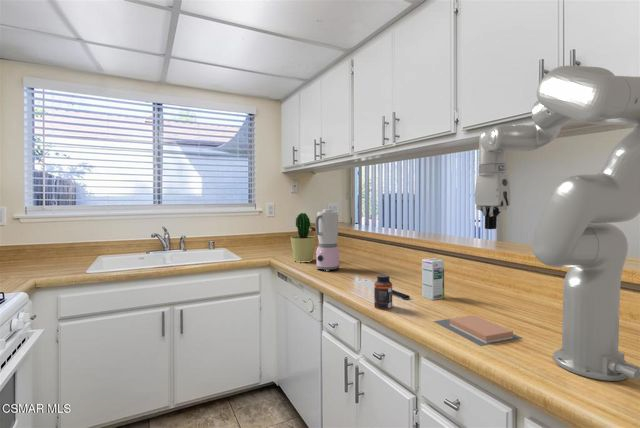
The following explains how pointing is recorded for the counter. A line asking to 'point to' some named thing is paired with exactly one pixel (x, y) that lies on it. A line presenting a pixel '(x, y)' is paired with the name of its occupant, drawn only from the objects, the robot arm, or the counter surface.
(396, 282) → the counter surface
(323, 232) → the blender
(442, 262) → the syrup box
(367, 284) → the kitchen cleaver
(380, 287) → the supplement bottle
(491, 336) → the tile
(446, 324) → the mat
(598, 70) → the robot arm
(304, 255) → the potted cactus
